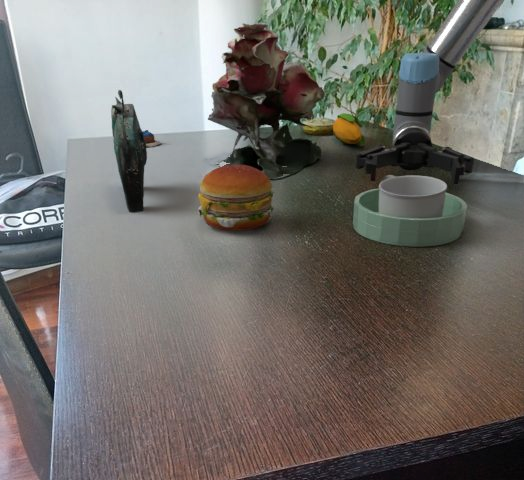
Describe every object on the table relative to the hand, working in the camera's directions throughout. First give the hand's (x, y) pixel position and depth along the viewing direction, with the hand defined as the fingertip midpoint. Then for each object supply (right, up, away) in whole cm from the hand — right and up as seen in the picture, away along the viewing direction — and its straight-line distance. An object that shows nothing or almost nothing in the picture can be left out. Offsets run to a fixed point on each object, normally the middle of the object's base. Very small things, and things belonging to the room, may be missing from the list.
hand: (414, 174), depth 95 cm
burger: (-30, -6, +8) cm, 32 cm away
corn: (-1, +28, +63) cm, 69 cm away
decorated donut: (-8, +36, +77) cm, 86 cm away
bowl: (0, -8, +5) cm, 9 cm away
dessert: (-58, +28, +65) cm, 92 cm away
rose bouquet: (-26, +17, +46) cm, 56 cm away
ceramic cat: (-51, +2, +22) cm, 56 cm away
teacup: (-1, -8, +4) cm, 9 cm away
